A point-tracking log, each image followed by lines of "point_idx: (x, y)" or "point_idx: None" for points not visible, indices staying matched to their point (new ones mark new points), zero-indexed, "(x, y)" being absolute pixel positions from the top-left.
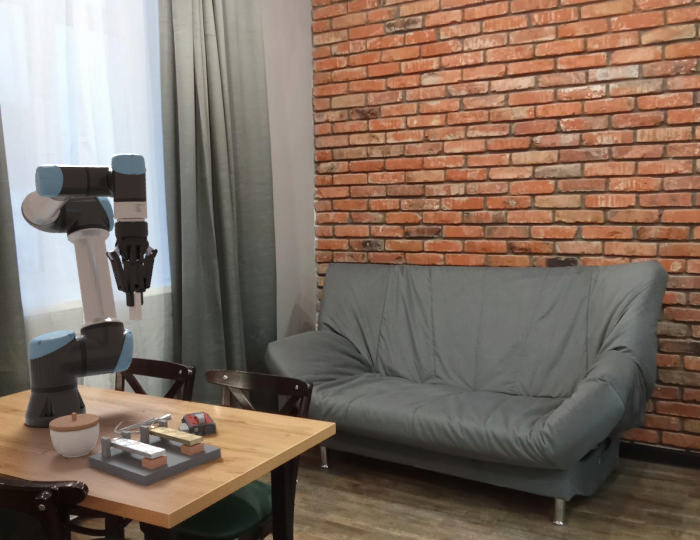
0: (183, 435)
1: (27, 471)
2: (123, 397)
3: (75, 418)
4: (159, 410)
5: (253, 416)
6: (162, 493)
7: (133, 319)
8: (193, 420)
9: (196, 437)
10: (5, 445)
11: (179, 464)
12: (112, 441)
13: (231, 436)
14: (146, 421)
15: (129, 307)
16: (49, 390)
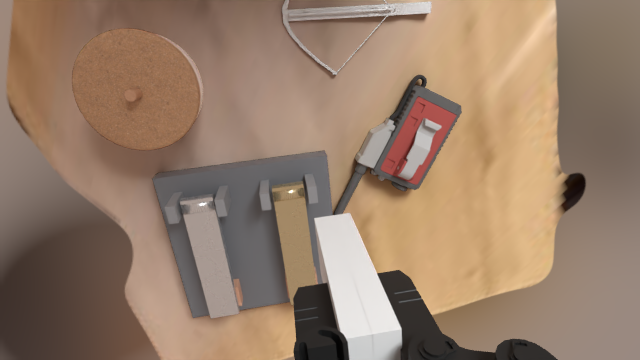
0: (300, 273)
1: (48, 115)
2: None
3: (136, 100)
4: None
5: (526, 147)
6: (202, 340)
7: (318, 253)
8: (403, 146)
9: None
10: None
11: (257, 306)
12: (187, 214)
13: (415, 216)
14: (364, 12)
15: (324, 262)
16: None
